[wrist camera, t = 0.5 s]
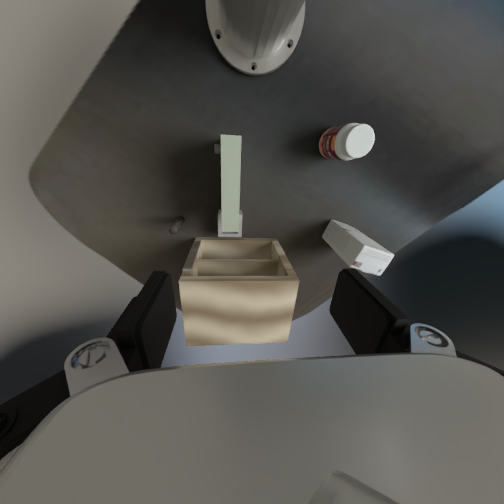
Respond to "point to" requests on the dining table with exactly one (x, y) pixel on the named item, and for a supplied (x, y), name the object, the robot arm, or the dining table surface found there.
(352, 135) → the pill bottle
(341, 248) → the skincare box
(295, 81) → the dining table surface
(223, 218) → the door
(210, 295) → the cabinet
